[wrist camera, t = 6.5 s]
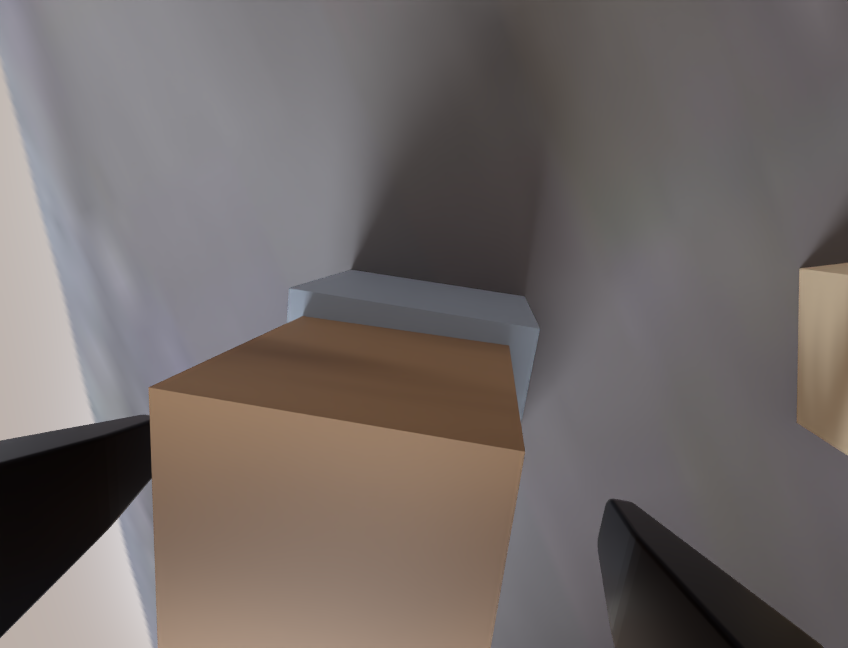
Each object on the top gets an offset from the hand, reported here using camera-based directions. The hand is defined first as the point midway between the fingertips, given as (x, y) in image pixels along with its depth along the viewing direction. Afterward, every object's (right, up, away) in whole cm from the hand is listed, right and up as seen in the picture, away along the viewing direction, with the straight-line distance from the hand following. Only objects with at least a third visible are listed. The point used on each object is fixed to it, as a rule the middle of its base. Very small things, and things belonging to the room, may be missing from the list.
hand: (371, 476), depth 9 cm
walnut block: (0, 0, +2) cm, 2 cm away
